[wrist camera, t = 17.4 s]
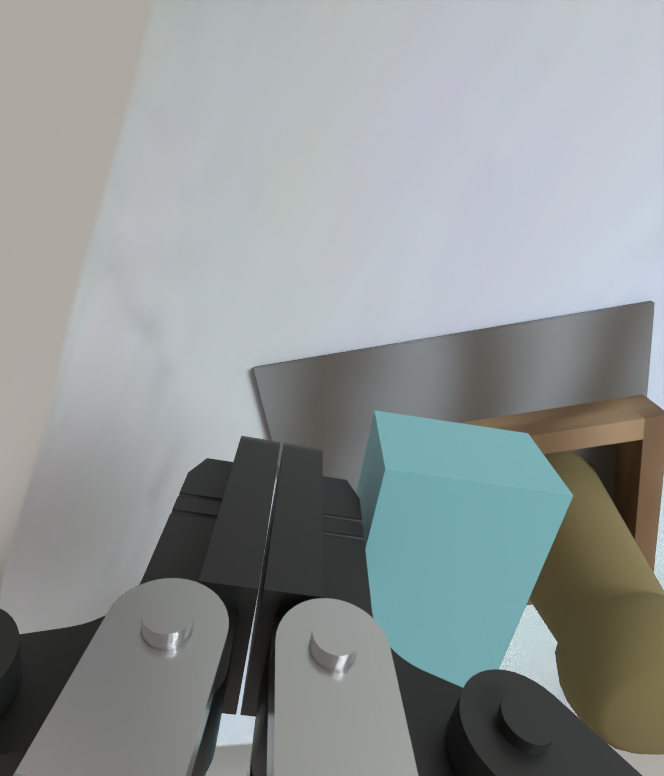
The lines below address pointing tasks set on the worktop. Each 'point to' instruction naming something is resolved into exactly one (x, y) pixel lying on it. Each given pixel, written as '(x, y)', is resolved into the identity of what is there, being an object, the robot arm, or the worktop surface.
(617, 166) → the worktop surface
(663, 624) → the olive rounded bulb piece
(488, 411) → the grey metal base plate
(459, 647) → the bar
